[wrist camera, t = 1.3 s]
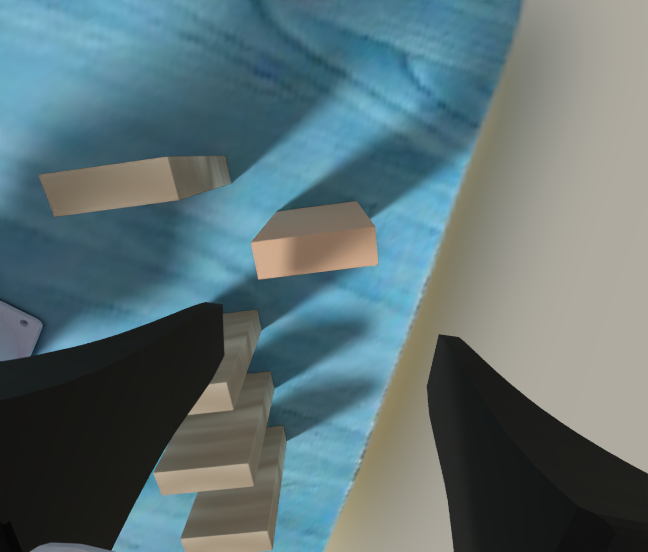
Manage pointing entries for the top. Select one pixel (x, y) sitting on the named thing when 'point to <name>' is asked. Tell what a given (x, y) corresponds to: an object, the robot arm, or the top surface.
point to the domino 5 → (315, 241)
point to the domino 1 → (133, 183)
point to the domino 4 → (240, 507)
